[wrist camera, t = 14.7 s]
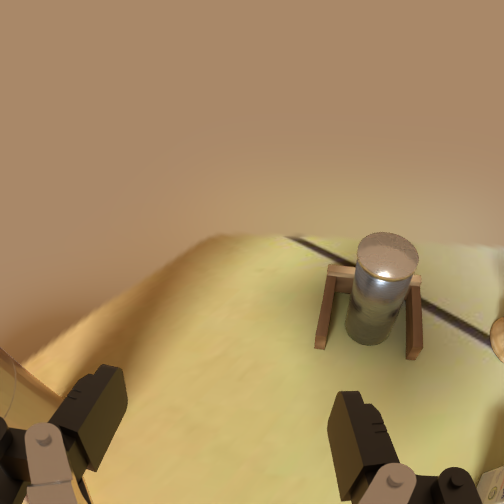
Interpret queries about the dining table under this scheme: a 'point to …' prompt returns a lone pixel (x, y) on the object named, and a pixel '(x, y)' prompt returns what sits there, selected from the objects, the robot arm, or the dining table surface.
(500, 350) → the hand bell
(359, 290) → the tin
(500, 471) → the medicine box
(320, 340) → the wooden u-shaped bracket
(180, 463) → the dining table surface
